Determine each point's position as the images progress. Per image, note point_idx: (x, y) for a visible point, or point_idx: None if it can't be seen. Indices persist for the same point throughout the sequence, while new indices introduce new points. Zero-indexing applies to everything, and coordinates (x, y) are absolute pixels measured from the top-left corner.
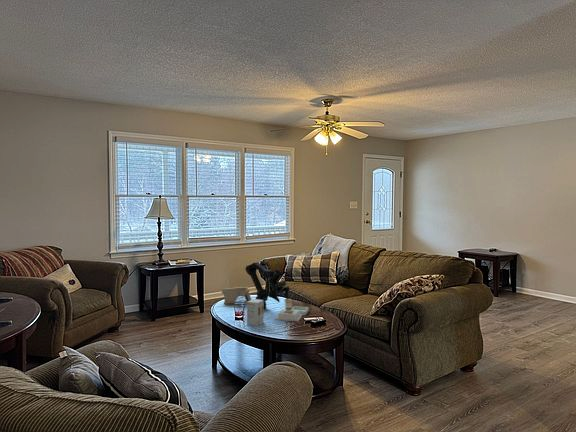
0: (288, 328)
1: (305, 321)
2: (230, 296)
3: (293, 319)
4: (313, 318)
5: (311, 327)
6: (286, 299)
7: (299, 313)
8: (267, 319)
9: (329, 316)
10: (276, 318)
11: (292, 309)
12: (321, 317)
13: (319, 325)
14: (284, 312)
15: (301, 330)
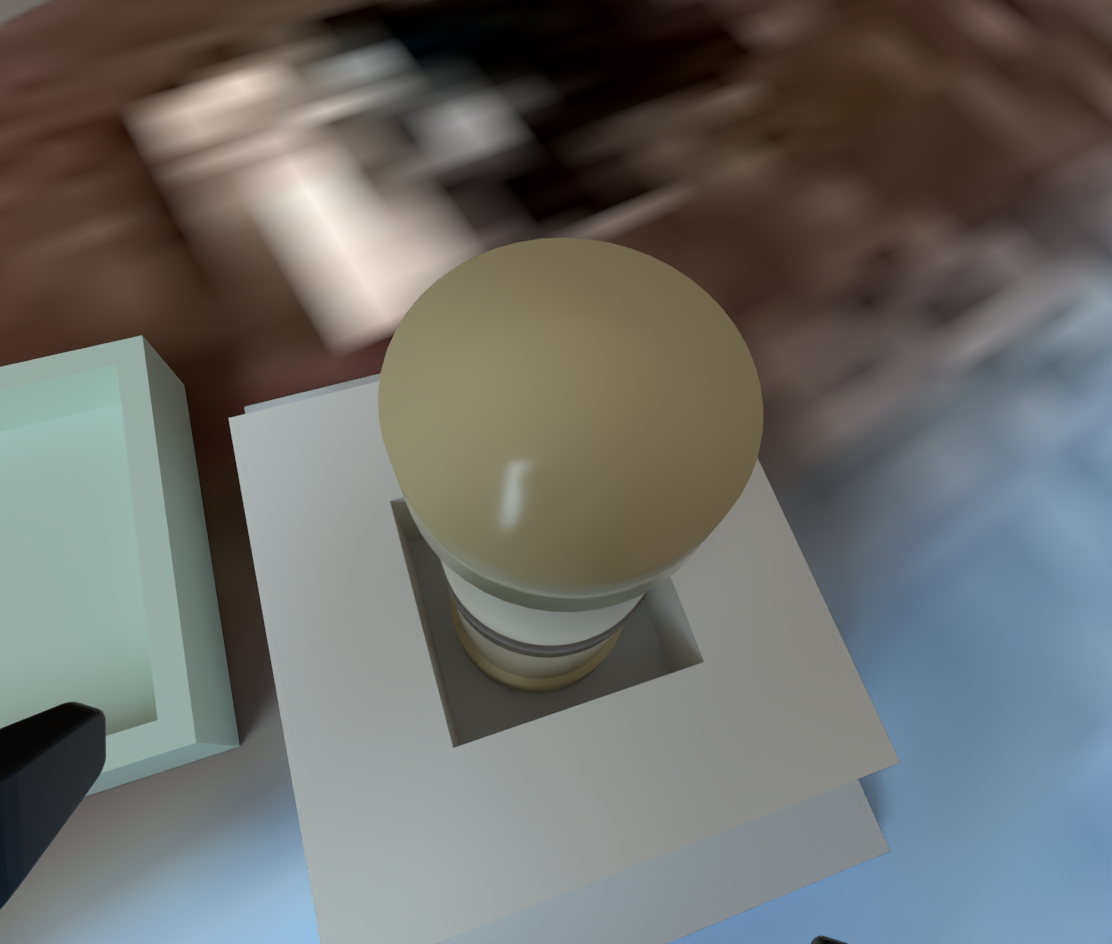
0: (1056, 295)
1: (559, 227)
2: None
3: None
4: (321, 186)
5: (762, 57)
6: (634, 503)
7: (188, 498)
8: None
9: (89, 31)
10: (863, 798)
11: None
12: (201, 105)
13: (612, 7)
14: (608, 695)
15: (968, 112)
